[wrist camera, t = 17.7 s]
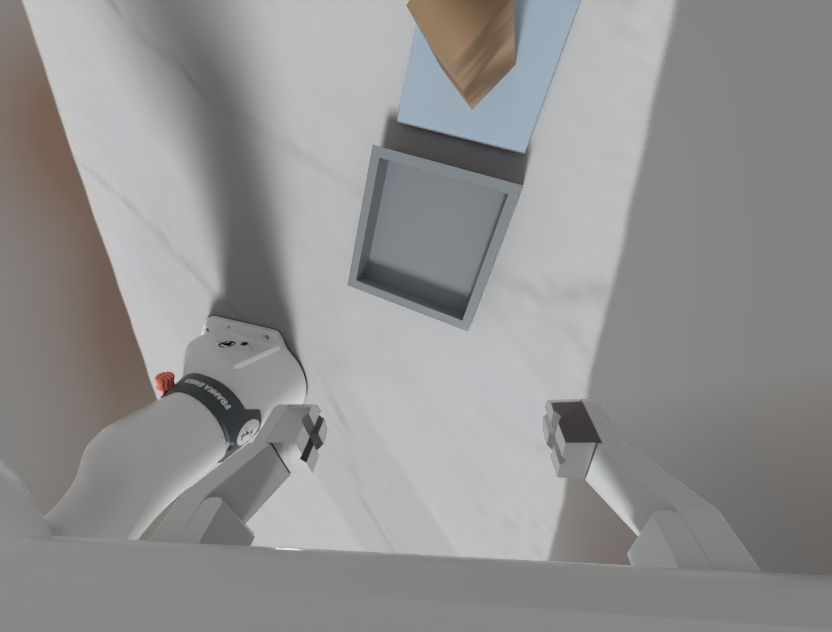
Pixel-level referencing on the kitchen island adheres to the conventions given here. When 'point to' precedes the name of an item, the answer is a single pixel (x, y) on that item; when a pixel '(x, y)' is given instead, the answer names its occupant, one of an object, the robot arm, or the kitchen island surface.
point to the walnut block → (469, 41)
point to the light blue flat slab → (509, 100)
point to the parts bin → (429, 234)
